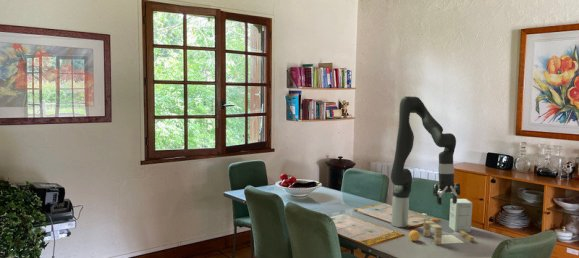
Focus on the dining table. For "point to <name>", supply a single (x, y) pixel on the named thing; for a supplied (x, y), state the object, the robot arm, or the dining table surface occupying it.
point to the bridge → (437, 231)
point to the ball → (414, 235)
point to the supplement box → (460, 215)
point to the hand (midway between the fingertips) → (447, 204)
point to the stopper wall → (466, 236)
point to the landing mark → (449, 239)
